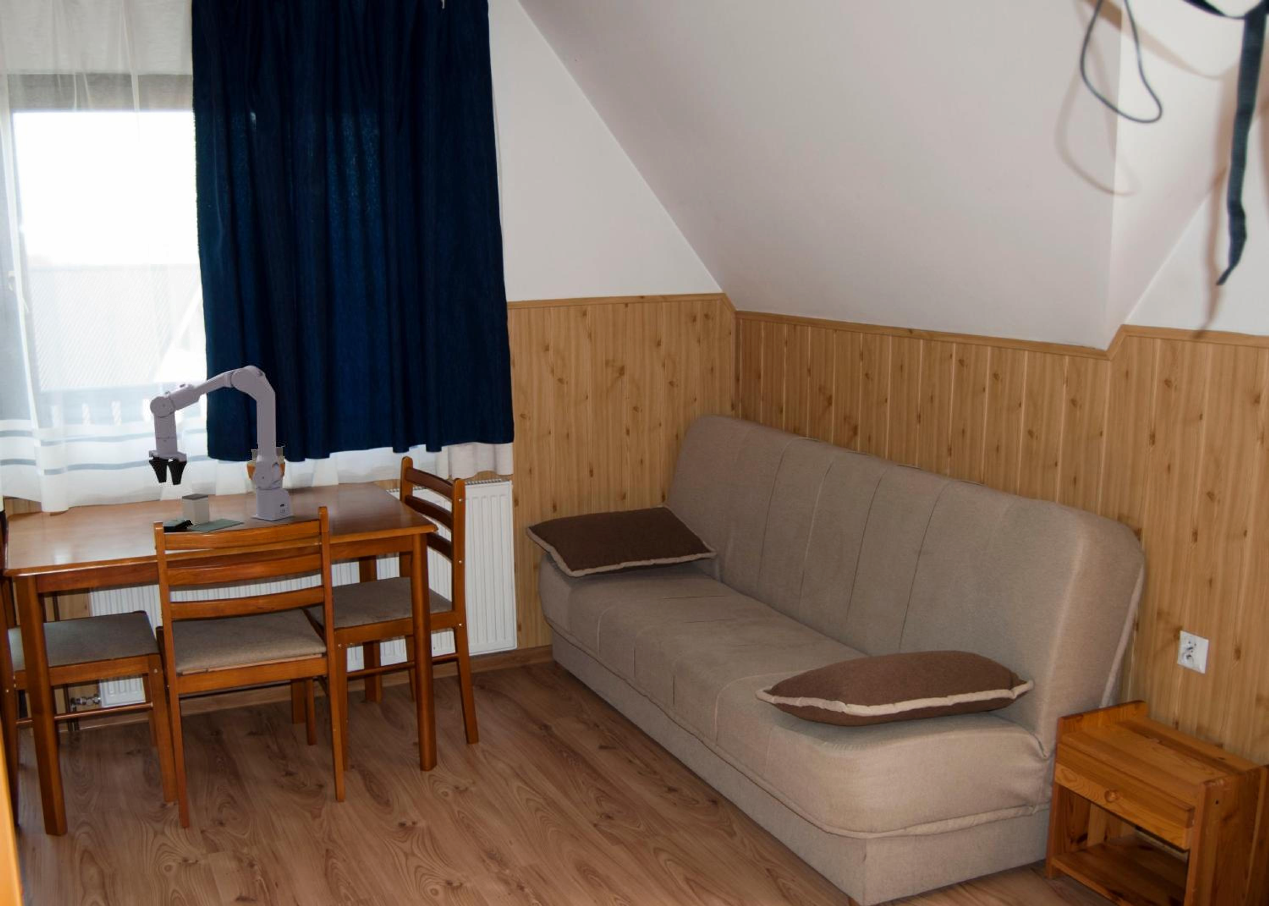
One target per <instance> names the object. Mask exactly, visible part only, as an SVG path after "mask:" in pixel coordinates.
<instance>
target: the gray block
mask: <svg viewBox="0 0 1269 906" xmlns="http://www.w3.org/2000/svg"><path fill="white" fill-rule="evenodd" d="M181 501H182V513H183V514H182V515H183V520H184V519H188V520H190V521H191V523H192V524H193V525H197V524H202V523H206V522H210V521H211V515H210V514H211V513H210V501H209V494H205V493H198V492H197V493H192V494H188V495H182V496H181ZM193 525H192V526H193Z"/></svg>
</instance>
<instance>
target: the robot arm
mask: <svg viewBox="0 0 1269 906" xmlns="http://www.w3.org/2000/svg"><path fill="white" fill-rule="evenodd" d="M222 387H226V388H233V387H234V388H236V389H237V390H239V391H240V392H243V393H245V394H248V395H249V396H250V397H252V398H253V399H254V400H255V401H256V429H257V430H256V431H257V432H256V433H257V435H256V436H257V438H256V440H257V441H256V442H257V443H256V444H258V456H257V459H256V468H255V471H254V472H253V476H252V478H253V482H254V483H255V491H256V494H255V502H256V514H252V515H250V518H253V519H259V520H265V521H278V520H281V519H285V518H289V517H292V516H294V514H293V513H292V511H291V498H290V493H289V491H288V490H287V489H285V488H283V486H282V487H281V483H280V481H279V479H280V478H281V476H282V469H281V467H280V465H279V458H278V456H277V454H276V443H277V442H276V441H277V440H276V437H277V436H276V435H277V434H276V433H277V431H276V428H277V427H276V392H275V391H274V389H273V387H272V386H271V384H270V383H269V380H268V379H267V378H266V374H265V372H263V371H262V370H261V369H259V368H258V367H256V366H254V365H246V366H244V367H242V368H237V369H233V370H229V371H225V372H222V373H220V374H218V375H215V376H214V377H212V378H209V379H207V380H205V381H203V382H201V383H199V384H196V385H194V384H191V383H187V384H186V383H182V384H179V387H178V388H175V389H174V390H172V391H169V390H167V391H165V392H164V394H163V395H160V396H156V397H155V398H154V399H152V400H151V402H150V404H149V410H150V411H151V413H152V414H153V424H154V427H153V428H154V437H155V438H154V439H155V448H156V449H152V450H148V458H152V459H148V463H149V464H150V465H151V467H152V469H153V471H154V473H155V476H156V479H157V481H158V484H164V483H167V479H168V469H169V473H170V477H171V478H170V479H171V483H172V485H173V486H178V485H181V483H182V478H183V474H184V470H185V467H186V465H187V464H188V460H187V453H183V452H181V451H179V450H178V436H177V425H176V424H177V422H176V414H175V413H176V411H181V410H183V409H185V408H187V407H189V406H192V405H194V404H196V403H199V400H200V399H201V396H203V395H205V394H208V393H210V392H213V391H216V390H217V389H221V388H222Z"/></svg>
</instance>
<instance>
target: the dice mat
mask: <svg viewBox="0 0 1269 906" xmlns="http://www.w3.org/2000/svg"><path fill="white" fill-rule="evenodd" d="M244 523H245V522H244V521H239V520H233V519H228V518H227V519H226V518H219V519H215V520H212V521H211V520H210V522H206V523H202V524H197V525H188V526H186V527H187V529H186V530H190V531H195V532H200V531H210V532H213V531H217V530H221V529H225V528H230V527H233V526H234V527H235V526H239V525H242V524H244Z"/></svg>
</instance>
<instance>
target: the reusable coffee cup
mask: <svg viewBox="0 0 1269 906" xmlns="http://www.w3.org/2000/svg"><path fill="white" fill-rule="evenodd" d="M283 447H285V445H284V446H281V447H276V454H277V456H278V458H279V465H280V467H281V469H282V476H281V478H280V479H279V481H280V483H281V487H282V488H283V486H284V485H283V483H284V476H285V471H286V462H285V456H283ZM251 452H252V460H250V461H249V462H247V461H246V469H247V475H248V478H249V479H250V484H251V489H252V492H253V494H254V495H256V491H255V483H254V482H253V478H252V476H253V472H254V471H255V468H256V459H257V456H258V449H251Z"/></svg>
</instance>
